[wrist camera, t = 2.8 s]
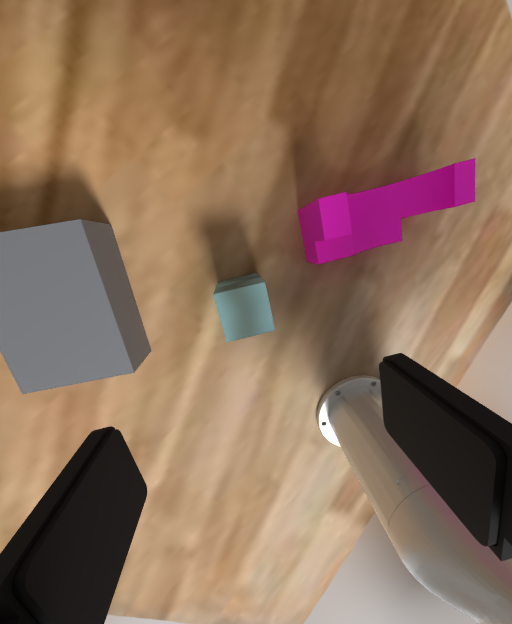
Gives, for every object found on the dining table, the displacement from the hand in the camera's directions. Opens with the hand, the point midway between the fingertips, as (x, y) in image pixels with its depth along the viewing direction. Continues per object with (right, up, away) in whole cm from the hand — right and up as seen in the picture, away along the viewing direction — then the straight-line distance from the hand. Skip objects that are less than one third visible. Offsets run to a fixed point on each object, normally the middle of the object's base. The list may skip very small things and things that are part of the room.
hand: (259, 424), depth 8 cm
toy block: (+13, +15, +22) cm, 29 cm away
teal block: (-2, +6, +22) cm, 23 cm away
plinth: (-21, +5, +21) cm, 30 cm away
